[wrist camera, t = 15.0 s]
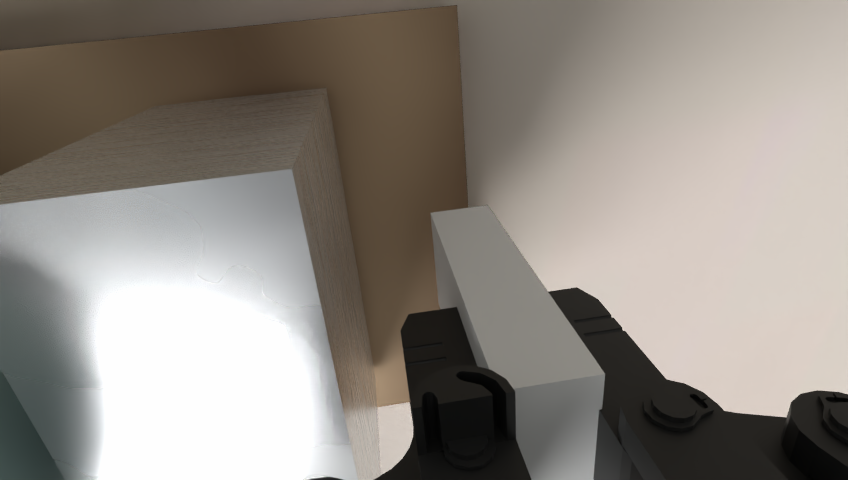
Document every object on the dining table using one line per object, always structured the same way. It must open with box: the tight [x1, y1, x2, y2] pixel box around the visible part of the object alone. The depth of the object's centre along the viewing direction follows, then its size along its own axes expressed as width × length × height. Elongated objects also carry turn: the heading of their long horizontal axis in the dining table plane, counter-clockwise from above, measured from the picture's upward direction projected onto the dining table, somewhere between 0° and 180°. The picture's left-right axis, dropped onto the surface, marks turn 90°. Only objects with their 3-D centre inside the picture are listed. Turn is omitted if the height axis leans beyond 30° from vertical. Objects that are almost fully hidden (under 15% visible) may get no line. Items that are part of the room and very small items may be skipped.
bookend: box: [0, 87, 381, 480], centre depth 10 cm, size 4×9×7 cm, turn 5°
